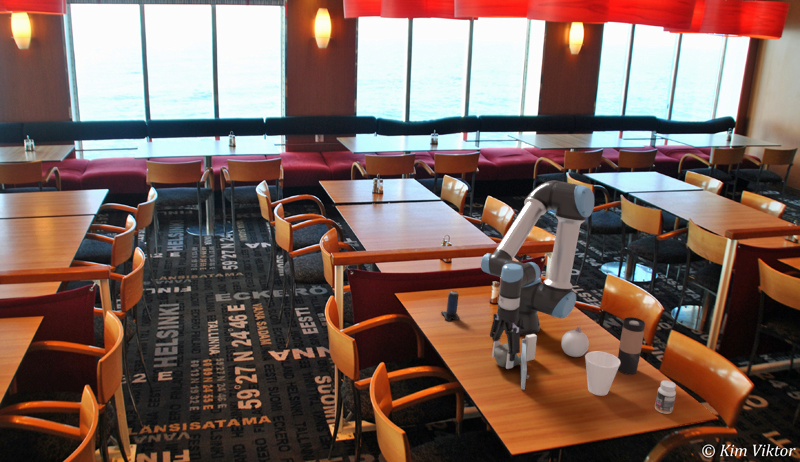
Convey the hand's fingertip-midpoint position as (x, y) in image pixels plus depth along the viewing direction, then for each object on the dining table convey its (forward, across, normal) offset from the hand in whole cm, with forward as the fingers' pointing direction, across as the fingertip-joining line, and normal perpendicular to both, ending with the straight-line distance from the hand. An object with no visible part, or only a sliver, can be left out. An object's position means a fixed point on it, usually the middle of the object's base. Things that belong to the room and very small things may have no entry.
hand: (502, 362), depth 234 cm
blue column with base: (+3, -46, +5) cm, 47 cm away
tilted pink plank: (+2, -1, +14) cm, 14 cm away
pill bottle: (+2, +45, +35) cm, 57 cm away
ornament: (+2, +2, +32) cm, 33 cm away
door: (+2, +7, +4) cm, 9 cm away
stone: (+1, 0, +2) cm, 2 cm away
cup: (+2, +26, +23) cm, 35 cm away
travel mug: (+2, +19, +44) cm, 48 cm away
